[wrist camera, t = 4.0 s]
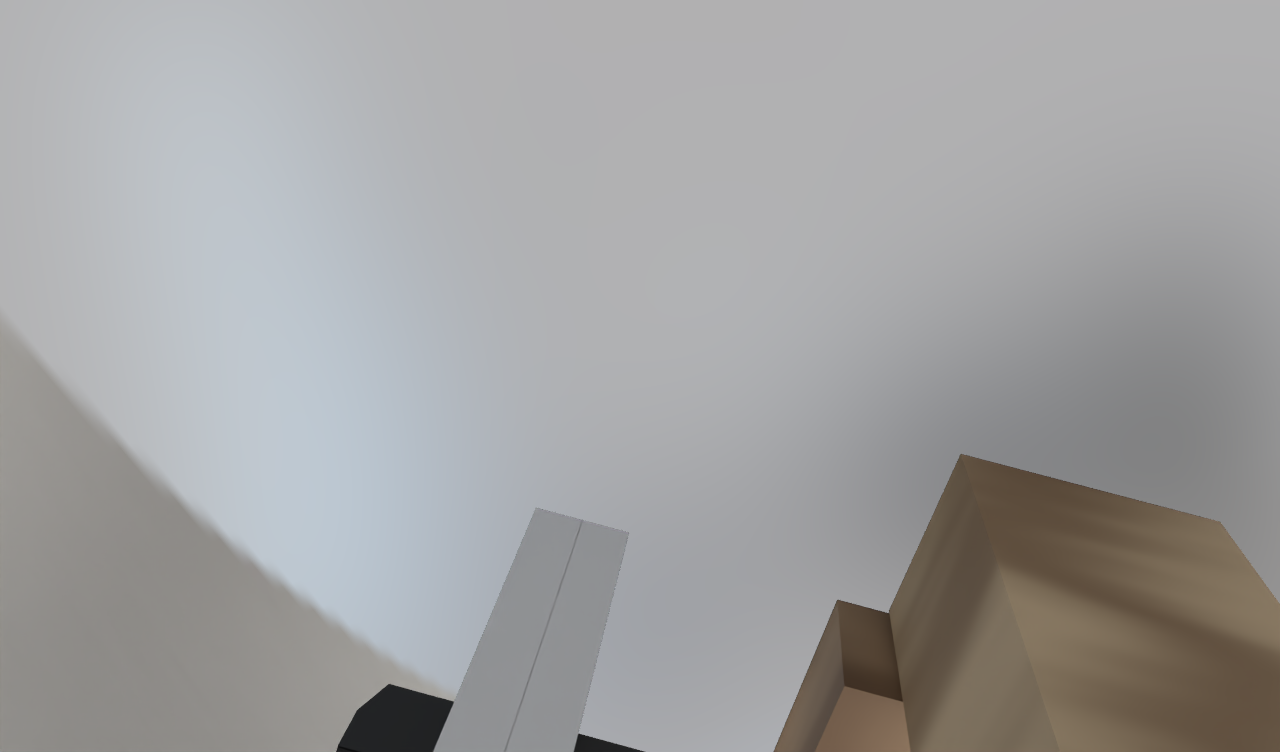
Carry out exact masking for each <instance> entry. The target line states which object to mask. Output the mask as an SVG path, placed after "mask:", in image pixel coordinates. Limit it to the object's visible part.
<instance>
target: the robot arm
mask: <svg viewBox="0 0 1280 752" xmlns="http://www.w3.org/2000/svg"><path fill="white" fill-rule="evenodd" d="M628 535H629V533H628V532H624V531H621V530H617V529H614V528H609V527H606V526H602V525H599V524H595V523H591V522H587V521H583V520H580V519H576V518H573V517H569V516H565V515H561V514H557V513H553V512H550V511H546V510H543V509H539V508H536V510H535V512H534V514H533V517H532V519H531V521H530V523H529V526H528V528H527V530H526V533H525V535H524V538H523V540H522V542H521V545H520V547H519V549H518V552H517V554H516V557H515V559H514V562H513V564H512V566H511V568H510V571H509V573H508V576H507V578H506V580H505V583H504V585H503V587H502V590H501V592H500V595H499V597H498V599H497V602H496V604H495V606H494V609H493V611H492V614H491V616H490V618H489V621H488V623H487V625H486V628H485V630H484V632H483V635H482V637H481V640H480V642H479V644H478V647H477V649H476V652H475V654H474V656H473V658H472V661H471V663H470V666H469V668H468V670H467V673H466V675H465V677H464V680H463V682H462V685H461V687H460V689H459V692H458V694H457V696H456V699H455V701H454V702H453V701H449V700H446V699H442V698H438V697H435V696H431V695H427V694H424V693H420V692H416V691H413V690H409V689H405V688H402V687H398V686H395V685H391V684H388V685H387V686H386V687H385V688H383V689H382V690H381V691H380V692H379V693H377V694H376V695H375V696H374V697H373V698H371V699H370V700H369V701H368V702H367V703H365V704H364V705H363V706H362V707H361V708H359V709H358V710H357V711H356V713H355V715H354V717H353V719H352V721H351V723H350V724H349V726H348V728H347V730H346V732H345V734H344V736H343V737H342V739H341V741H340V743H339V745H338V748H337V751H336V752H644V751H640V750H637V749H633V748H629V747H626V746H622V745H618V744H614V743H611V742H607V741H604V740H600V739H596V738H593V737H589V736H585V735H582V734H578V732H579V728H580V724H581V721H582V717H583V712H584V709H585V705H586V701H587V697H588V693H589V689H590V685H591V681H592V677H593V673H594V669H595V665H596V661H597V657H598V653H599V649H600V646H601V642H602V638H603V633H604V630H605V626H606V622H607V617H608V614H609V610H610V605H611V602H612V598H613V594H614V590H615V586H616V582H617V578H618V574H619V571H620V566H621V563H622V559H623V555H624V551H625V547H626V543H627V539H628Z"/></svg>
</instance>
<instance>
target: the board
mask: <svg viewBox="0 0 1280 752" xmlns="http://www.w3.org/2000/svg"><path fill="white" fill-rule="evenodd" d="M774 752H911V750H910V744H909V737H908V731H907V724H906V718H905V711H904V705H903V698H902V692H901V685H900V679H899V672H898V666H897V659H896V653H895V646H894V640H893V633H892V627H891V620H890V614H889V613H885V612H882V611H878V610H874V609H871V608H866V607H863V606H859V605H856V604H852V603H848V602H844V601H840V600H837V602H836V604H835V607H834V609H833V611H832V614H831V616H830V619H829V621H828V623H827V626H826V628H825V631H824V633H823V635H822V638H821V640H820V642H819V645H818V647H817V650H816V652H815V654H814V657H813V659H812V661H811V664H810V666H809V669H808V671H807V673H806V676H805V678H804V680H803V683H802V685H801V688H800V690H799V693H798V695H797V697H796V700H795V702H794V704H793V707H792V709H791V711H790V714H789V716H788V719H787V721H786V723H785V726H784V728H783V731H782V733H781V735H780V738H779V740H778V743H777V745H776V747H775V750H774Z"/></svg>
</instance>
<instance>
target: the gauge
mask: <svg viewBox="0 0 1280 752" xmlns="http://www.w3.org/2000/svg"><path fill="white" fill-rule="evenodd" d="M889 614H890V620H891V627H892V633H893V640H894V646H895V653H896V659H897V666H898V672H899V679H900V685H901V692H902V698H903V705H904V711H905V718H906V724H907V731H908V737H909V744H910V750H911V752H1280V604H1279V602H1278V601H1277V600H1276V598H1275V597H1274V595H1273V594H1272V593H1271V591H1270V590H1269V589H1268V587H1267V586H1266V584H1265V583H1264V582H1263V580H1262V579H1261V578H1260V576H1259V575H1258V573H1257V572H1256V571H1255V569H1254V568H1253V567H1252V565H1251V564H1250V562H1249V561H1248V560H1247V558H1246V557H1245V555H1244V554H1243V553H1242V551H1241V550H1240V549H1239V547H1238V546H1237V544H1236V543H1235V542H1234V540H1233V539H1232V538H1231V536H1230V535H1229V534H1228V532H1227V531H1226V529H1225V528H1224V527H1223V525H1222V524H1221V522H1219V521H1215V520H1211V519H1207V518H1203V517H1200V516H1196V515H1192V514H1188V513H1184V512H1180V511H1176V510H1173V509H1169V508H1165V507H1161V506H1158V505H1154V504H1150V503H1146V502H1142V501H1139V500H1135V499H1131V498H1127V497H1123V496H1120V495H1115V494H1112V493H1108V492H1104V491H1100V490H1097V489H1093V488H1089V487H1085V486H1081V485H1078V484H1074V483H1070V482H1066V481H1062V480H1058V479H1055V478H1051V477H1047V476H1043V475H1039V474H1036V473H1032V472H1028V471H1024V470H1020V469H1017V468H1013V467H1009V466H1005V465H1001V464H998V463H994V462H990V461H986V460H982V459H978V458H975V457H970V456H967V455H963V454H961V455H960V457H959V459H958V461H957V463H956V466H955V468H954V470H953V472H952V474H951V477H950V479H949V481H948V483H947V485H946V488H945V490H944V492H943V494H942V496H941V498H940V500H939V503H938V505H937V507H936V509H935V512H934V514H933V516H932V518H931V520H930V522H929V525H928V527H927V529H926V531H925V533H924V536H923V538H922V540H921V542H920V544H919V546H918V549H917V551H916V553H915V555H914V557H913V559H912V562H911V564H910V566H909V568H908V571H907V573H906V575H905V577H904V579H903V581H902V584H901V586H900V588H899V590H898V592H897V594H896V597H895V599H894V601H893V603H892V605H891V608H890V610H889Z"/></svg>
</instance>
